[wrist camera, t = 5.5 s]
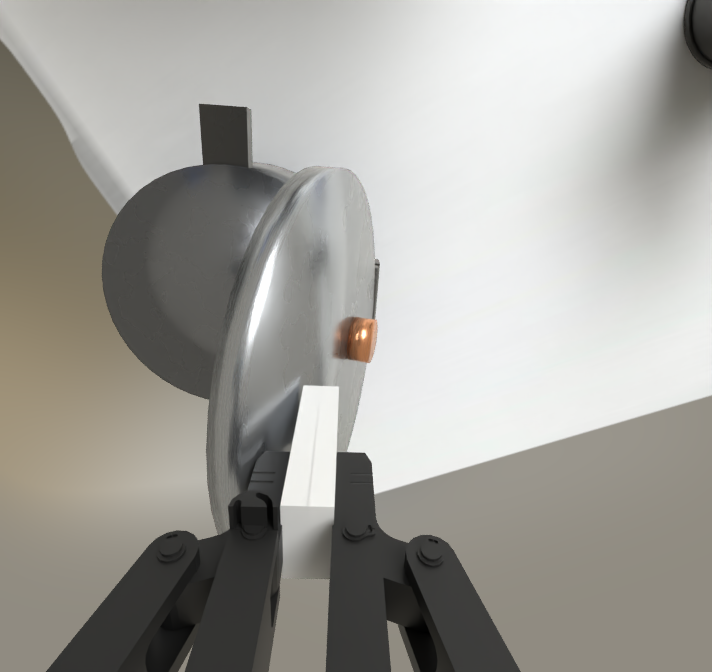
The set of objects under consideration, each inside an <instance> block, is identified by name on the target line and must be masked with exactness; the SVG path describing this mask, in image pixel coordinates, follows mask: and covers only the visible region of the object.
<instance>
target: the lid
mask: <svg viewBox="0 0 712 672" xmlns="http://www.w3.org/2000/svg"><path fill="white" fill-rule="evenodd" d="M378 279H379V266H377V265H375V253H374V236H373V226H372V218H371V213H370V208H369V203H368V200H367V196H366V193H365V191H364V188H363V186H362V184H361V182H360V180H359V179H358V178H357V176H356V175H355V174H354V173H353V172H351V171H350V170H348V169H344V168H335V167H321V166H313V167H308V168H305V169H303V170H301V171H300V172H298V173H296V174H295V175H293V176H292V177H291V178H290V179H289V180H288V181H287V182H286V183H285V184H284V185H283V186H282V187H281V188H280V190H279V191H278V192H277V194H276V195H275V197H274V198H273V199H272V201H271V202H270V204H269V205H268V207H267V208H266V210H265V212H264V214H263V216H262V217H261V219H260V221H259V223H258V225H257V227H256V228H255V230H254V233H253V235H252V237H251V240H250V242H249V244H248V247H247V249H246V251H245V254H244V256H243V258H242V261H241V264H240V267H239V270H238V273H237V276H236V279H235V282H234V285H233V288H232V291H231V294H230V297H229V301H228V305H227V309H226V313H225V317H224V320H223V324H222V328H221V332H220V337H219V342H218V348H217V353H216V358H215V364H214V369H213V375H212V383H211V392H210V400H209V410H208V424H207V446H206V454H207V480H208V490H209V497H210V504H211V511H212V515H213V519H214V522H215V526H216V529H217V532H218V535H220V534H222V533H224V532H226V531H227V530H229V529H230V525H229V513H228V505H229V504H230V502H231V500H232V499H233V498H234V497H236V496H237V495H238V494H240V493H243V492H245V491H247V490H248V487H249V484H250V480H251V477H252V474H253V470H254V467H255V464H256V460H257V459H258V458H259V457H260V456H261V455H262V454H263V453H264V452H265V451H284V452H291V447H292V442H293V437H294V432H295V427H296V422H297V416H298V411H299V406H300V401H301V396H302V391H303V386H304V385H308V386H337V387H339V402H338V428H337V452H347V449H348V446H349V442H350V438H351V435H352V431H353V427H354V423H355V419H356V415H357V410H358V406H359V401H360V396H361V391H362V386H363V381H364V376H365V370H366V364H367V363H370V362H371V360H372V357H373V354H374V350H375V345H376V339H377V320H375V314H376V302H377V291H378Z"/></svg>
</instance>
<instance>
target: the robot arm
mask: <svg viewBox="0 0 712 672" xmlns="http://www.w3.org/2000/svg"><path fill="white" fill-rule="evenodd" d="M338 402H339V387H337V386H308V385H304V386H303V391H302V396H301V401H300V406H299V411H298V416H297V422H296V427H295V432H294V437H293V442H292V447H291V452H284V451H265V452H264V453H263V454H262V455H261V456H260V457H259V458H258V459H257V460H256V464H255V467H254V470H253V474H252V477H251V480H250V484H249V487H248V490H247V491H245V492H243V493H240V494H238V495H237V496H236V497H234V498H233V499H232V500H231V502H230V504H229V505H228V513H229V525H230V529H229V530H227V531H226V532H224V533H222V534H220V535H217V536H214V537H210V538H206V539H202V540H197V538H196V537H195V535H194V534H191V533H190V532H187V531H173V532H169V533H166V534H164V535H162V536H160V537H158V538H157V539H156V540H154V541H153V542H152V543H151V544H150V545H149V546H148V547H147V548H146V550H145V551H144V552H143V554H142V555H141V556H140V557H139V558H138V560H137V561H136V562H135V564H133V566H132V567H131V568H130V570H129V571H128V572H127V573H126V574H125V575H124V577H123V578H122V579H121V581H120V582H119V583H118V584H117V585H116V586H115V588H114V589H113V590H112V591H111V593H110V594H109V595H108V596H107V598H106V599H105V600H104V601H103V602H102V604H101V605H100V606H99V607H98V609H97V610H96V611H95V612H94V613H93V615H92V616H91V617H90V618H89V620H88V621H87V622H86V623H85V624H84V626H83V627H82V628H81V629H80V631H79V632H78V633H77V634H76V635H75V637H74V638H73V639H72V640H71V642H70V643H69V644H68V645H67V647H66V648H65V649H64V650H63V651H62V653H61V654H60V655H59V656H58V658H57V659H56V660H55V661H54V663H53V664H52V665H51V666H50V667H49V669H48V670H47V671H46V672H178V671H179V669H180V667H181V665H182V664H183V662H184V660H185V658H186V656H187V654H188V653H189V651H190V649H191V647H192V645H193V648H192V651H191V654H190V657H189V660H188V663H187V666H186V670H185V672H268V671H269V663H270V657H271V651H272V644H273V638H274V632H275V625H276V619H277V611H278V605H279V599H280V578H281V572H282V578H297V579H330V587H329V612H328V633H327V634H328V635H327V657H326V672H391V666H390V654H389V641H388V631H387V620H388V621H391V622H394V623H396V624H398V627H399V630H400V633H401V636H402V639H403V641H404V644H405V647H406V650H407V653H408V656H409V658H410V661H411V664H412V667H413V670H414V672H520V670H519V668H518V666H517V664H516V663H515V661H514V659H513V657H512V655H511V653H510V652H509V650H508V648H507V646H506V645H505V643H504V641H503V639H502V637H501V635H500V634H499V632H498V630H497V628H496V626H495V625H494V623H493V621H492V619H491V617H490V616H489V614H488V612H487V610H486V608H485V606H484V605H483V603H482V601H481V599H480V597H479V596H478V594H477V592H476V590H475V588H474V587H473V585H472V583H471V581H470V580H469V578H468V576H467V574H466V572H465V570H464V569H463V567H462V565H461V563H460V561H459V560H458V558H457V556H456V554H455V552H454V550H453V549H452V548H451V547H450V546H449V544H448V543H447V542H445V541H444V540H442V539H440V538H438V537H435V536H432V535H420V536H418V537H415V538H413V539H412V540H411V541H410V542H409V543H406V542H403V541H400V540H397V539H394V538H392V537H390V536H388V535H387V534H386V533H384V532H383V531H382V530H381V528H380V527H379V525H378V523H377V520H376V514H375V501H374V488H373V476H372V463H371V461H370V460H369V458H368V457H367V455H366V454H365V453H352V452H337V428H338Z"/></svg>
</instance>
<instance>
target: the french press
mask: <svg viewBox="0 0 712 672" xmlns="http://www.w3.org/2000/svg"><path fill="white" fill-rule="evenodd" d="M684 26H685V36H686V40H687V44H688V46H689V49H690V51H691V53H692V54H693V55H694V57H695V58H696V59H697V60H698V61H699V62H700V63H702V64H703V65H704V66H706V67H708V68H711V69H712V0H688V2H687V6H686V11H685V19H684Z"/></svg>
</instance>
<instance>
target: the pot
mask: <svg viewBox="0 0 712 672" xmlns="http://www.w3.org/2000/svg"><path fill="white" fill-rule="evenodd" d="M199 111H200V125H201V140H202V155H203V165H199V166H193V167H186V168H183V169H180V170H176V171H173V172H170V173H168V174H166V175H164V176H161V177H159V178H157V179H155V180H154V181H152V182H151V183H149V184H148V185H146V186H145V187H143V188H142V189H140V190H139V191H138V192H137V193H136V194H135V195H134V196H133V197H132V198H131V199H130V200H129V201H128V202H127V203H126V205H125V206H124V207H123V209H122V210H121V211H120V213H119V214H118V216H117V218H116V220H115V222H114V223H113V225H112V227H111V229H110V232H109V235H108V237H107V240H106V244H105V249H104V254H103V260H102V281H103V290H104V295H105V299H106V303H107V307H108V309H109V312H110V315H111V318H112V320H113V322H114V324H115V326H116V328H117V330H118V332H119V334H120V335H121V337H122V338H123V340H124V341H125V343H126V344H127V346H128V347H129V349H130V350H131V351H132V352H133V353H134V354H135V355H136V356H137V358H138V359H139V360H140V361H141V362H142V363H143V364H145V366H147V367H148V368H149V369H150V370H151V371H152V372H154V373H155V374H156V375H158V376H159V377H160V378H162V379H163V380H165V381H166V382H168V383H170V384H171V385H173V386H175V387H177V388H179V389H181V390H183V391H186V392H188V393H190V394H193V395H196V396H199V397H202V398H205V399H209V400H210V392H211V383H212V375H213V369H214V364H215V358H216V353H217V348H218V342H219V337H220V332H221V328H222V324H223V320H224V317H225V313H226V309H227V305H228V301H229V297H230V294H231V291H232V288H233V285H234V282H235V279H236V276H237V273H238V270H239V267H240V264H241V261H242V258H243V256H244V254H245V251H246V249H247V247H248V244H249V242H250V240H251V237H252V235H253V233H254V230H255V228H256V227H257V225H258V223H259V221H260V219H261V217H262V216H263V214H264V212H265V210H266V208H267V207H268V205H269V204H270V202H271V201H272V199H273V198H274V197H275V195H276V194H277V192H278V191H279V190H280V188H281V187H282V186H283V185H284V184H285V183H286V182H287V181H288V180H289V179H290V178H291V177H292V176H293V175H295V174H296V173H294V172H291V171H289V170H287V169H284V168H282V167H278V166H274V165H271V164H264V163H252V127H251V109H249V108H247V107H236V106H222V105H208V104H199ZM375 265H377V266H380V263H379V260H378V259H375Z"/></svg>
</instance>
